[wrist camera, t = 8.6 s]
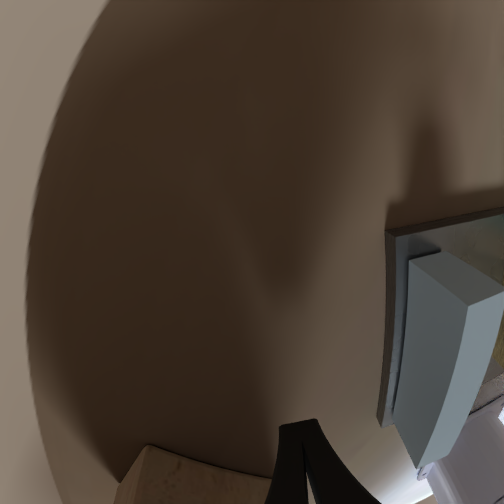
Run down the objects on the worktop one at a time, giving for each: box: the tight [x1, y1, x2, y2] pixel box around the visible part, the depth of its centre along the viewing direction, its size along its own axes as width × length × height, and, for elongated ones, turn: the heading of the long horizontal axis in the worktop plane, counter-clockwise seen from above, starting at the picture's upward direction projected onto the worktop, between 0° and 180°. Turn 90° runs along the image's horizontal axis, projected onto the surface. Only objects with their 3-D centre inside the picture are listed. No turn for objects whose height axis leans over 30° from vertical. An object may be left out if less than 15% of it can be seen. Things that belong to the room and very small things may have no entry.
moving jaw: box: [392, 251, 504, 469], centre depth 10 cm, size 10×2×4 cm, turn 11°
